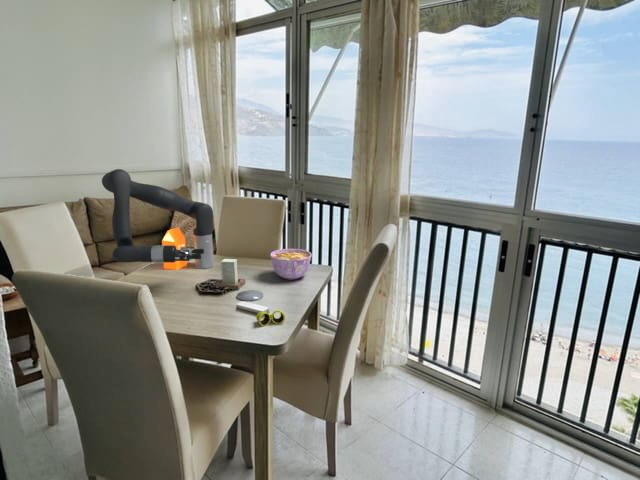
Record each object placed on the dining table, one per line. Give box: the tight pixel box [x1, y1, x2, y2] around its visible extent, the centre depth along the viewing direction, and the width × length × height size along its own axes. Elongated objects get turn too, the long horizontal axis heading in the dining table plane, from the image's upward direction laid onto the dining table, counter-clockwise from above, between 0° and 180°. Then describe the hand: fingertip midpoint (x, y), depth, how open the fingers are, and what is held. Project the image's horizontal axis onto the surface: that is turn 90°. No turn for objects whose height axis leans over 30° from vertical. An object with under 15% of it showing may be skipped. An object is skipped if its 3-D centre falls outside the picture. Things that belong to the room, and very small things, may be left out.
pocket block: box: [214, 277, 246, 291], centre depth 179 cm, size 9×11×2 cm
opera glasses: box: [255, 309, 286, 327], centre depth 144 cm, size 10×5×5 cm, turn 111°
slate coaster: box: [236, 289, 264, 302], centre depth 168 cm, size 11×11×1 cm
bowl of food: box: [269, 248, 313, 280], centre depth 191 cm, size 20×20×12 cm
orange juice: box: [161, 227, 188, 271], centre depth 202 cm, size 8×9×20 cm
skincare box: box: [220, 258, 239, 284], centre depth 178 cm, size 6×4×12 cm
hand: (202, 253), depth 174 cm, fingers open, 8 cm apart
